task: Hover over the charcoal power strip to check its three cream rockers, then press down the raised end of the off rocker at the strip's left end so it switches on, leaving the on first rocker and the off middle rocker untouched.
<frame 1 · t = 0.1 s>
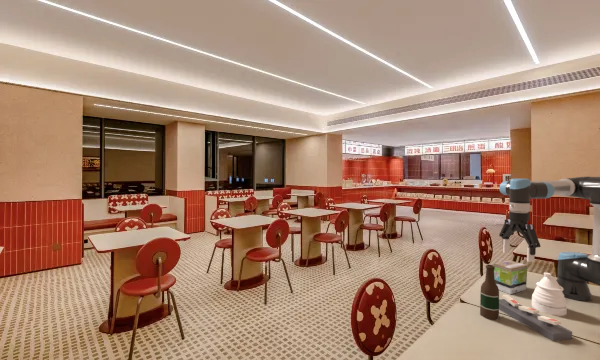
hand: (517, 256, 131), 28 cm above the table, tool pointing down, fingers open, 13 cm apart
middle rocker: (528, 309, 127), point 5 cm above the table, hinge at -12.0°
first rocker: (510, 300, 136), point 5 cm above the table, hinge at 12.0°
power strip: (528, 320, 127), on the table
tea box: (509, 289, 160), on the table
beer bottle: (489, 316, 131), on the table
end rocker: (548, 320, 118), point 5 cm above the table, hinge at -12.0°
honey pot: (548, 309, 137), on the table
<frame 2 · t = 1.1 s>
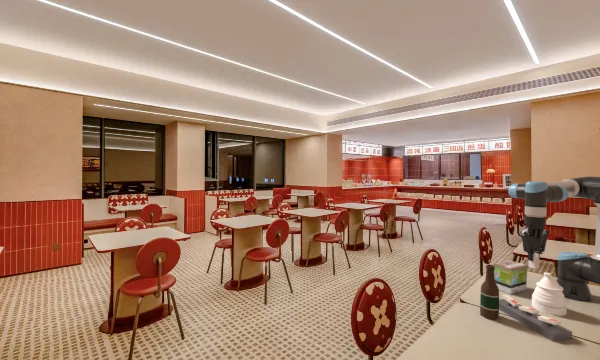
hand: (533, 267, 126), 24 cm above the table, tool pointing down, fingers closed
nothing on the table moved.
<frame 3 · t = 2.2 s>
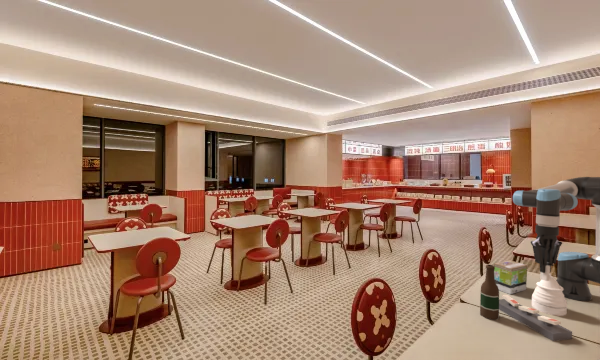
hand: (544, 279, 120), 22 cm above the table, tool pointing down, fingers closed
nothing on the table moved.
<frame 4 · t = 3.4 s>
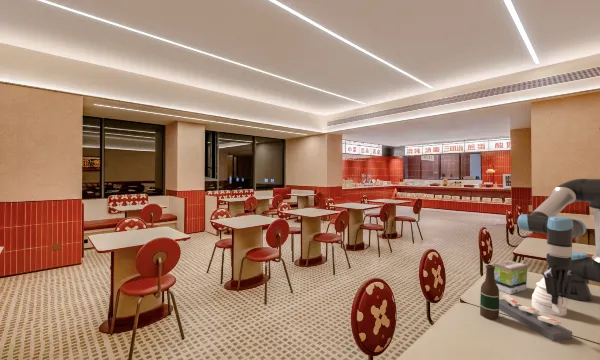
hand: (556, 311, 115), 10 cm above the table, tool pointing down, fingers closed
nothing on the table moved.
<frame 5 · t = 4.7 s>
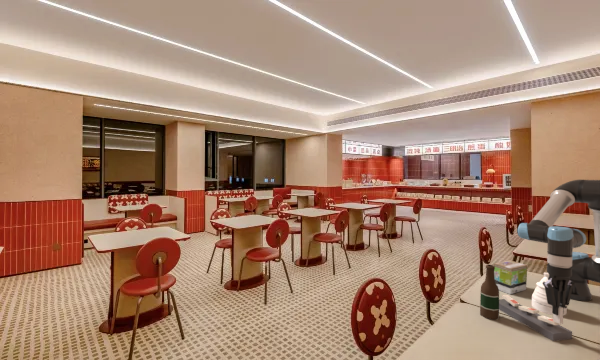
hand: (557, 322, 114), 6 cm above the table, tool pointing down, fingers closed
end rocker: (548, 320, 118), point 5 cm above the table, hinge at -9.8°, touching gripper
everything else where it was.
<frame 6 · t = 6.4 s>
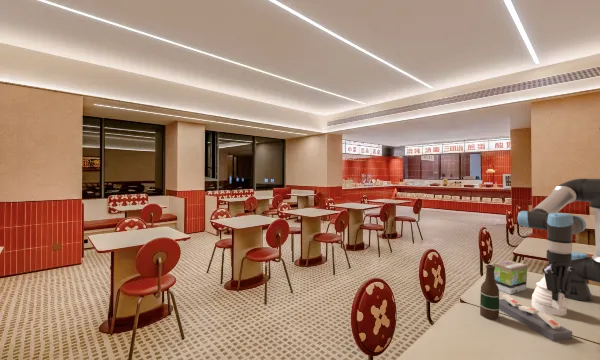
hand: (557, 307, 115), 12 cm above the table, tool pointing down, fingers closed
end rocker: (548, 320, 118), point 5 cm above the table, hinge at 20.3°
everything else where it was.
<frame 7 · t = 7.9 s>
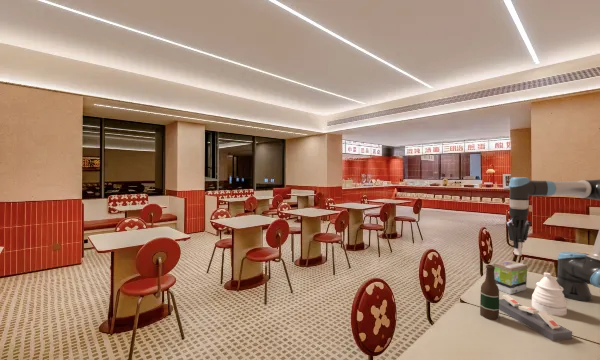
hand: (517, 254, 140), 26 cm above the table, tool pointing down, fingers closed
end rocker: (548, 320, 118), point 5 cm above the table, hinge at 27.9°, touching power strip
everything else where it was.
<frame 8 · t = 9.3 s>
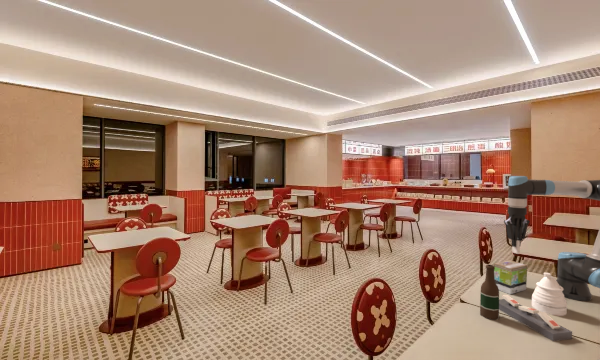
hand: (515, 252, 141), 26 cm above the table, tool pointing down, fingers closed
end rocker: (548, 320, 118), point 5 cm above the table, hinge at 25.5°
everything else where it was.
at the end: end rocker at +25° (first picture: -12°); first rocker at +12° (first picture: +12°); middle rocker at -12° (first picture: -12°) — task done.
